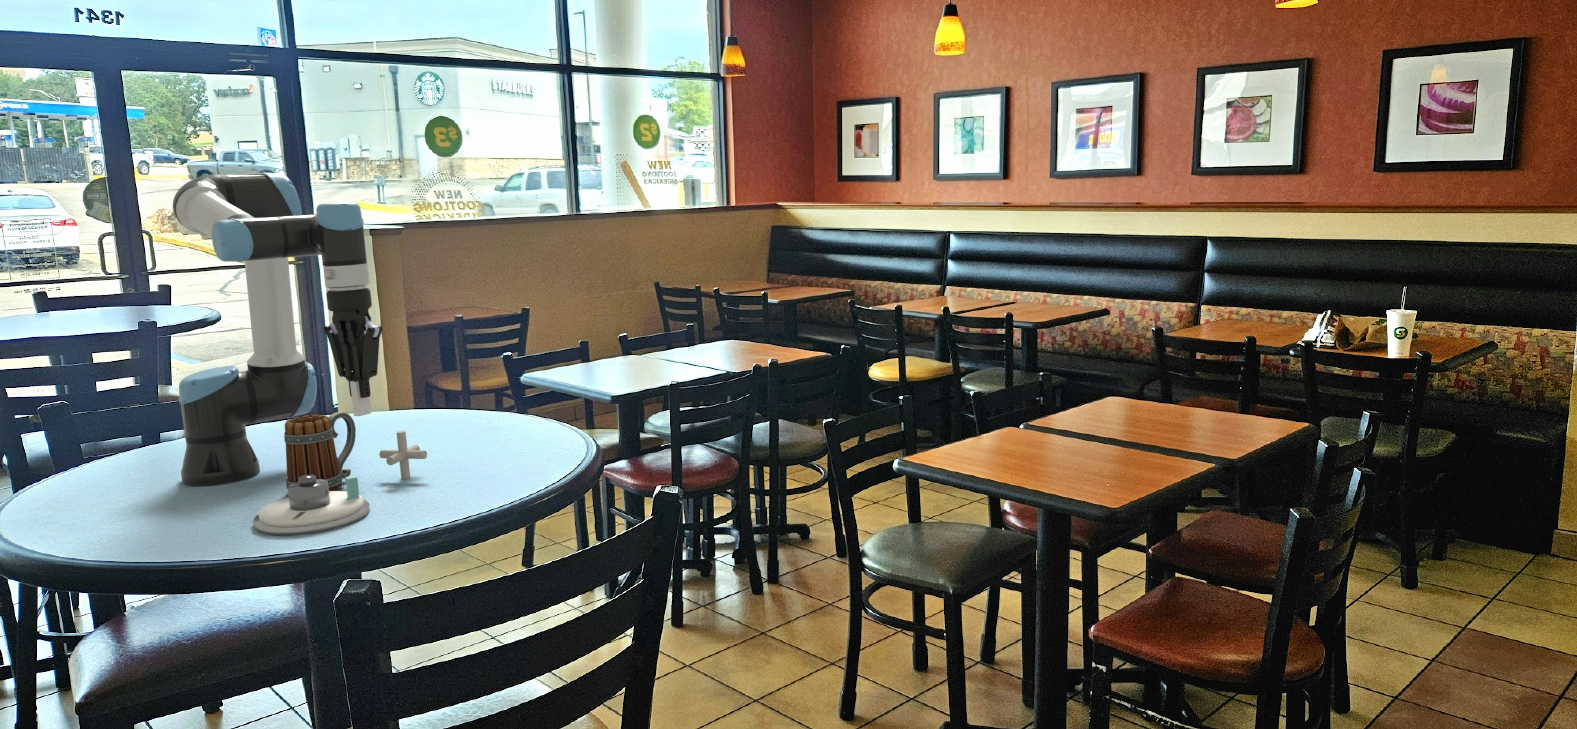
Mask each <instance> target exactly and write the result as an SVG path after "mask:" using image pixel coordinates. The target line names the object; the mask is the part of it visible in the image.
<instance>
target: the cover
mask: <svg viewBox="0 0 1577 729" xmlns="http://www.w3.org/2000/svg"><path fill="white" fill-rule="evenodd" d="M286 490H287V496H288V497H287V498H289V505H290V509H291V510H294V511H307V510H314V509H318V508H322V507H325V506H327V505H329V504H330V494H329V486H328V481H327V480H323V479H316V475H304V476H300V477H298V482H296V483H293V484H291V485H289V486H288V487H287V486H286Z"/></svg>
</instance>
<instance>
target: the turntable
mask: <svg viewBox="0 0 1577 729" xmlns="http://www.w3.org/2000/svg"><path fill="white" fill-rule="evenodd" d="M345 487H346V488H345V489H346V490H345V491H344V490H343V491H342V490H337V491H329V494H330V504H329V505H327V506H325V507H322V508H318V509H314V510H307V511H294V510H291V509H290V505H289V497H286V498H282V499H279V500H276V501H273V502H270V503H269V504H266V505H265V506H263V507H262V508H260V509H259V511H258V514H257V515H259V521H260V522H261V523H262V524H264V525H267V526H273V527H299V526H308V525H315V524H321V523H326V522H330V521H334V520H337V519H341V518H344V517H347V516H349V515H352V514H354V513H356V512H357V511H359V510H360V509H361V508H362V507H363V499H364V497H363V496H362V495H361V494H360V491H359V490H360V489H359V483H358V476H356V475H350V476H349V477H345Z"/></svg>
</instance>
